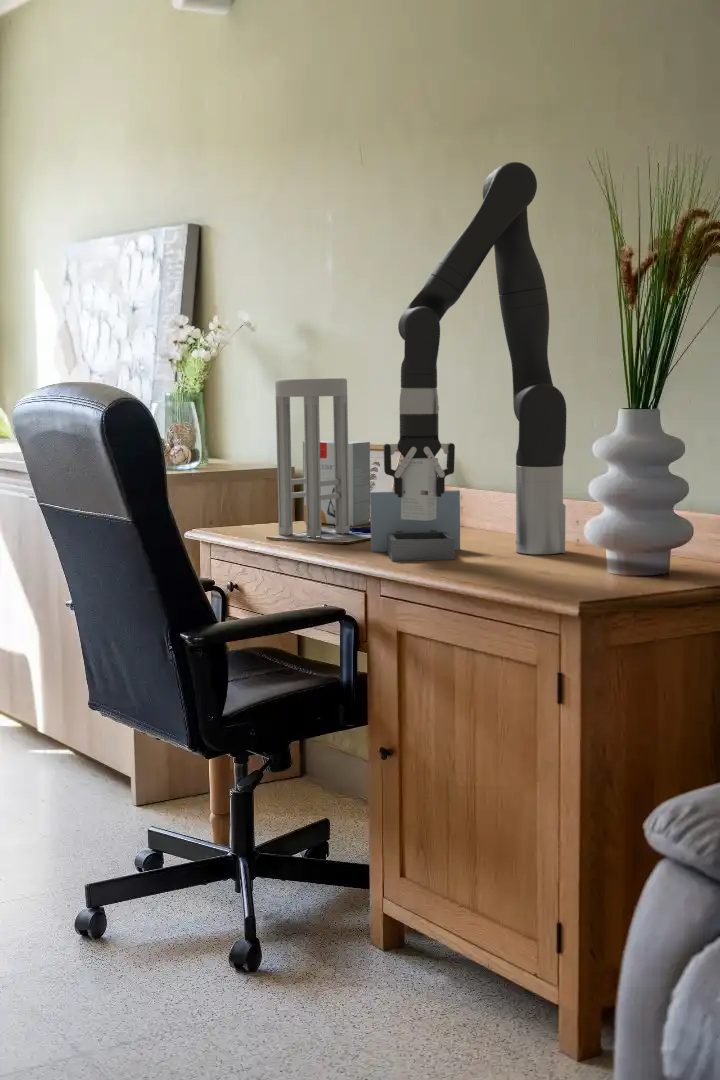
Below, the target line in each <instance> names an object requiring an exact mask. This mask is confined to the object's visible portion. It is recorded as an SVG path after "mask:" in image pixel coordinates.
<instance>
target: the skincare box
mask: <svg viewBox="0 0 720 1080" xmlns="http://www.w3.org/2000/svg"><path fill="white" fill-rule="evenodd" d="M402 458H403V457H402ZM435 458H436V460H437V461H438V462H439V458H437V457H435ZM403 459H404V458H403ZM403 459H401V460H402V461H403ZM405 462H406V461H405ZM433 462H434V461H433V459H432V458H412V459H411V460H410V462H409V464H408V465H407V467H406V468H405V470H404V471H403V473H402V474H401V478H402V497H401V519H403V520H421V521H430V520H434V519H436V509H437V477H438V475H437V472H436V470H435V469H434V467H433Z"/></svg>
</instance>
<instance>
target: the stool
mask: <svg viewBox="0 0 720 1080" xmlns="http://www.w3.org/2000/svg"><path fill="white" fill-rule="evenodd" d="M274 387H275V388H274V389H275V417H276V418H275V419H276V420H275V421H276V422H275V424H276V426H275V427H276V428H275V429H276V462H277V463H276V465H277V466H276V469H277V470H276V471H277V472H276V473H277V474H276V475H277V509H278V511H277V512H278V514H277V515H278V517H277V518H278V535H279V536H290V534H292V535H294V534H293V533H294V530H293V529H294V528H293V526H294V525H293V499H300V498H304V497H306V522H305V523H306V526H305V527H306V528H305V529H306V537H307V536H310V537H316V536H321V537H322V523H321V500H328V499H335V524H334V525H335V526H334V527H335V534H336V533H349V532H350V531H351V530H350V526H349V466H348V441H349V425H348V424H349V418H348V417H349V415H348V414H349V413H348V411H349V410H348V406H349V405H348V380H347V378H345V377H316V378H314V377H312V378H311V377H310V378H309V377H308V378H300V377H299V378H277V379H276V380H275V385H274ZM291 397H292V398H296V397H298V398H301V397H302V398H303V423H304V425H303V426H304V427H303V428H304V441H305V478H303V477H302V478H301V477H300V478H292V477H293V476H292V474H293V473H292V439H291V438H292V437H291V436H292V434H291ZM320 397H332V400H333V402H332V403H333V405H332V406H333V408H332V409H333V441H334V470H335V480H324V481H321V479H320V440H321V437H320V436H321V433H320V431H321V430H320V425H321V424H320ZM305 483H306V491H305V492H304V491H298V492H297V491H295V492H293V486H294V485H295V486H296V485H302V484H305ZM330 485H335V493H331V494H322V495H321V486H330ZM350 533H351V532H350ZM350 533H349V534H350Z"/></svg>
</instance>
